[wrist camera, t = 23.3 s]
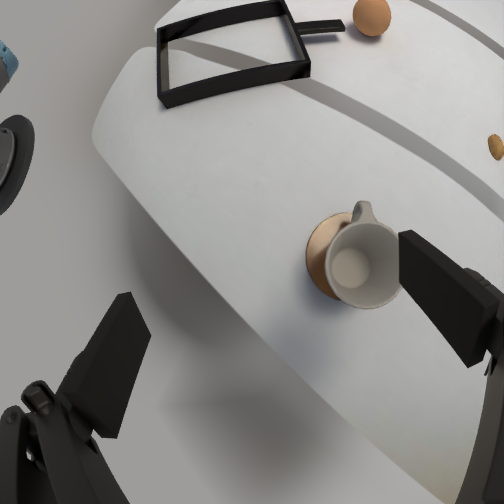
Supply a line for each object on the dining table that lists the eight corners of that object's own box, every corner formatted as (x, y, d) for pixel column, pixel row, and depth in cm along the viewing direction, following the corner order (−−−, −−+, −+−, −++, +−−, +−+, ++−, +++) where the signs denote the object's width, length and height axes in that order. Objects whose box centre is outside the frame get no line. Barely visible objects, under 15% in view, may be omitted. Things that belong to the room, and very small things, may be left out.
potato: (491, 159, 31) (497, 155, 30) (485, 134, 32) (491, 129, 30) (503, 161, 31) (509, 157, 29) (497, 137, 31) (503, 132, 30)
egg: (392, 37, 35) (404, 2, 26) (369, 48, 35) (379, 11, 27) (366, 17, 36) (373, -18, 27) (342, 27, 36) (347, -10, 28)
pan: (166, 109, 38) (157, 96, 35) (164, 41, 40) (156, 28, 36) (358, 72, 35) (362, 57, 32) (325, 9, 37) (326, -6, 33)
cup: (314, 300, 33) (322, 307, 25) (319, 210, 34) (327, 189, 25) (379, 303, 32) (406, 310, 24) (383, 215, 33) (408, 196, 24)
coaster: (314, 309, 33) (314, 309, 33) (298, 221, 34) (298, 220, 34) (397, 291, 32) (398, 291, 32) (380, 206, 33) (381, 206, 33)
